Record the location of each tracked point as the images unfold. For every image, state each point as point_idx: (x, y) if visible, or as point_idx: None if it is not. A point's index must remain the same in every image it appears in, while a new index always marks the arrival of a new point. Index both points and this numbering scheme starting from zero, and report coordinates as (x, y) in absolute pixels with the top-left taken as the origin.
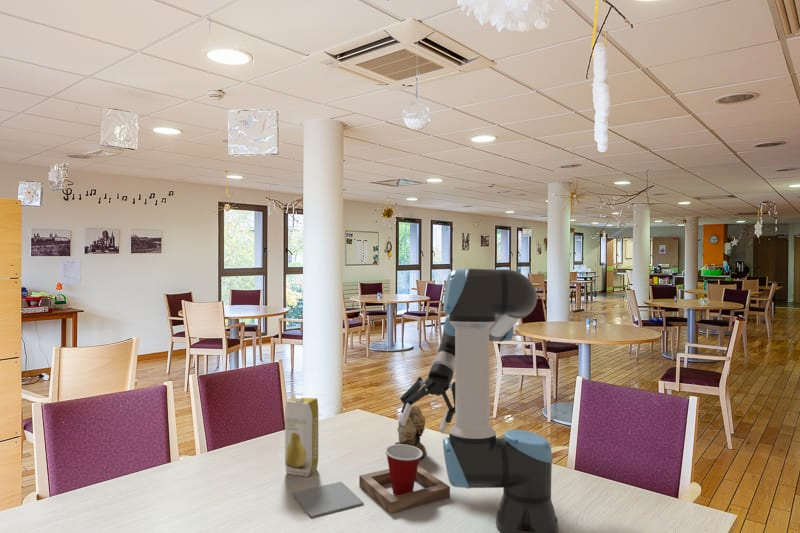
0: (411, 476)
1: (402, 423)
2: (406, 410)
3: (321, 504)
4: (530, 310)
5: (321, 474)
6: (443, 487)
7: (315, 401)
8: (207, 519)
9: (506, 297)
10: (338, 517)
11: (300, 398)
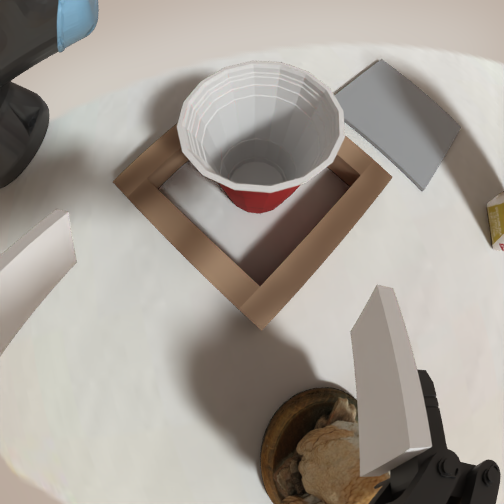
0: (221, 135)
1: (367, 309)
2: (393, 378)
3: (394, 90)
4: None
5: (475, 227)
6: (129, 170)
7: None
8: (475, 67)
9: None
10: (341, 64)
11: None
